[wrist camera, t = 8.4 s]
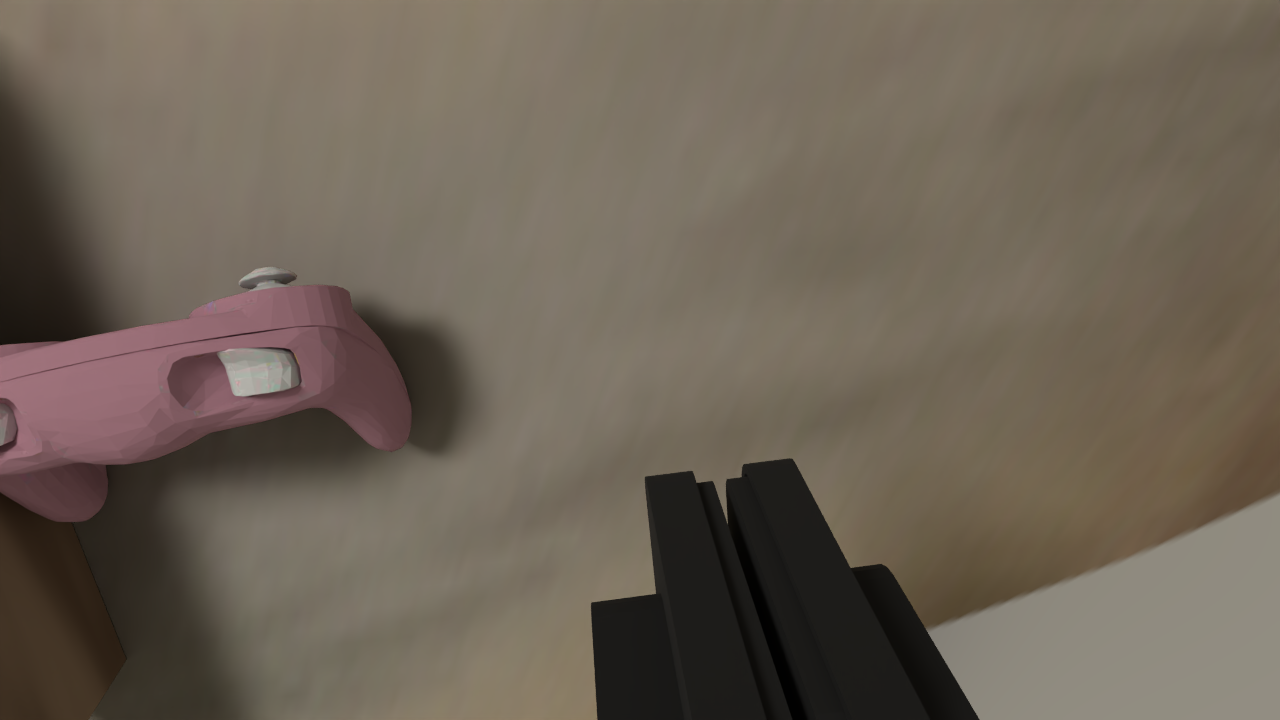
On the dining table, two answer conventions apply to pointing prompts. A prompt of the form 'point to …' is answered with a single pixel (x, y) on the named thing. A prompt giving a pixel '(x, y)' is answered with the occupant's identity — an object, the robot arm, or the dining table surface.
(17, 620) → the bar
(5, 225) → the dining table surface
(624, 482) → the dining table surface
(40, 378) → the video game controller
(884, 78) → the dining table surface
